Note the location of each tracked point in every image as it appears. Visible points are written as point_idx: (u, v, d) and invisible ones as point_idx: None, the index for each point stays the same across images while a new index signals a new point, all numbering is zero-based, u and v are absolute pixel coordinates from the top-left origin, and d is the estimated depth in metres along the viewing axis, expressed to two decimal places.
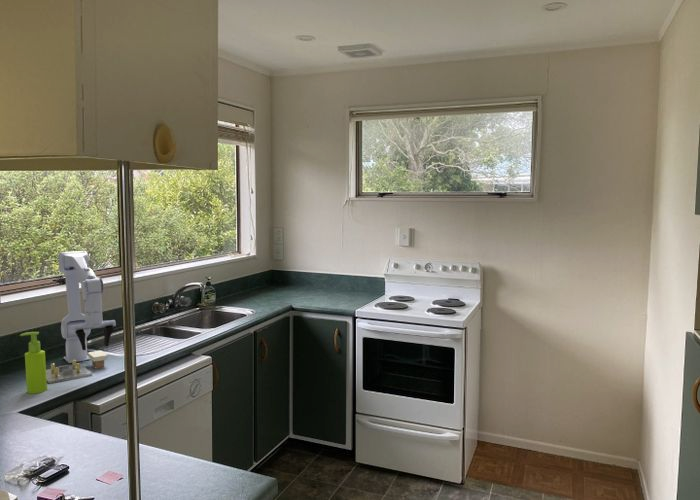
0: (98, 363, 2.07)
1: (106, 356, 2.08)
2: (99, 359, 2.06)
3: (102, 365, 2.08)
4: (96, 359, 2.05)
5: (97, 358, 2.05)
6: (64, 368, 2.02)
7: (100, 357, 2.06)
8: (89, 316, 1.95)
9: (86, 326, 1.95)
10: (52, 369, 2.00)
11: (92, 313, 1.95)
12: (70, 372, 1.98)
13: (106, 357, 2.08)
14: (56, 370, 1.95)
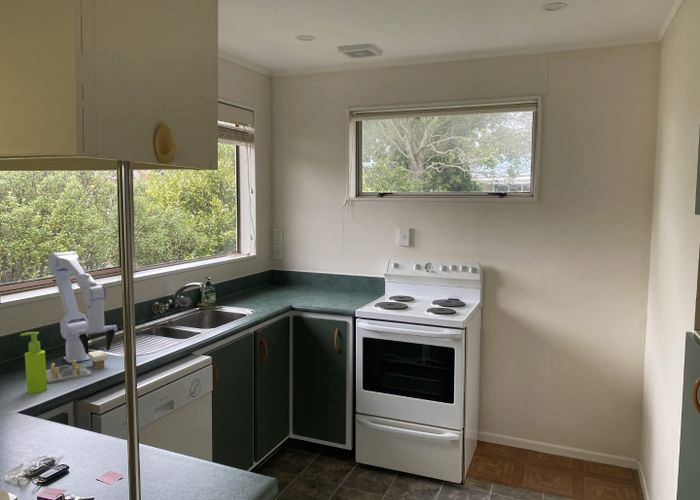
0: (98, 363, 2.07)
1: (106, 356, 2.08)
2: (99, 359, 2.06)
3: (102, 365, 2.08)
4: (96, 359, 2.05)
5: (97, 358, 2.05)
6: (64, 368, 2.02)
7: (100, 357, 2.06)
8: (92, 322, 2.06)
9: (89, 331, 2.05)
10: (52, 369, 2.00)
11: (94, 318, 2.06)
12: (70, 372, 1.98)
13: (106, 357, 2.08)
14: (56, 370, 1.95)
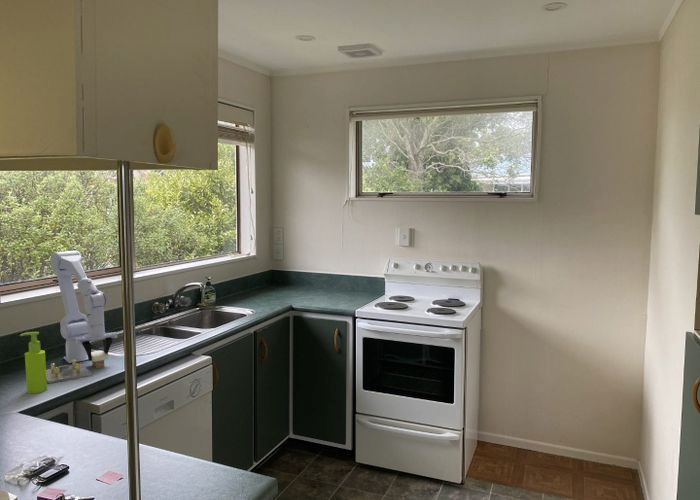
0: (98, 363, 2.07)
1: (106, 356, 2.08)
2: (99, 359, 2.06)
3: (102, 365, 2.08)
4: (96, 359, 2.05)
5: (97, 358, 2.05)
6: (64, 368, 2.02)
7: (100, 357, 2.06)
8: (92, 329, 2.06)
9: (89, 338, 2.06)
10: (52, 369, 2.00)
11: (95, 326, 2.06)
12: (70, 372, 1.98)
13: (106, 357, 2.08)
14: (56, 370, 1.95)
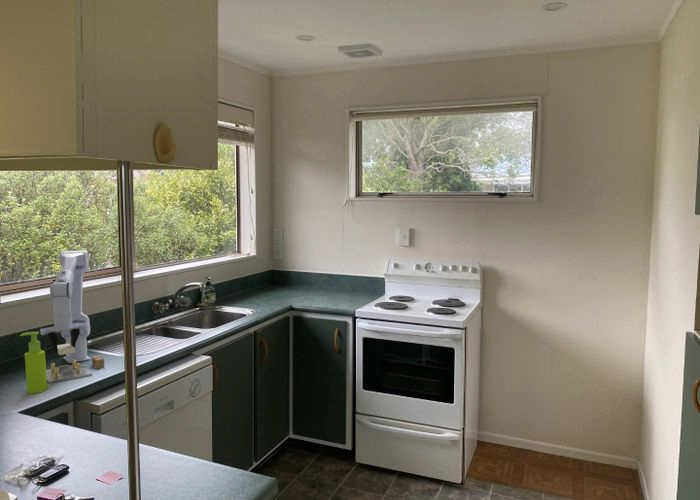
0: (98, 363, 2.07)
1: (73, 349, 1.97)
2: (65, 352, 1.95)
3: (102, 365, 2.08)
4: (62, 352, 1.95)
5: (63, 351, 1.95)
6: (64, 368, 2.02)
7: (66, 350, 1.96)
8: (58, 320, 1.96)
9: (55, 329, 1.95)
10: (52, 369, 2.00)
11: (61, 316, 1.96)
12: (70, 372, 1.98)
13: (73, 350, 1.97)
14: (56, 370, 1.95)
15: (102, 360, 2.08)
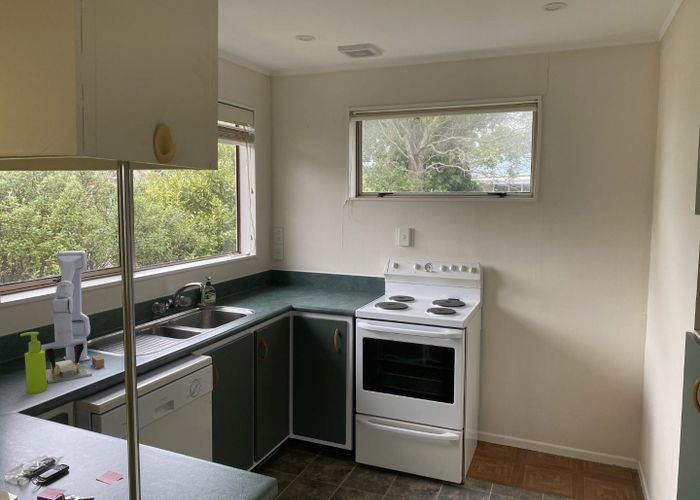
0: (98, 363, 2.07)
1: (74, 366, 1.97)
2: (66, 369, 1.96)
3: (102, 365, 2.08)
4: (63, 369, 1.95)
5: (64, 368, 1.95)
6: None
7: (67, 367, 1.96)
8: (59, 336, 1.96)
9: (56, 345, 1.96)
10: (52, 369, 2.00)
11: (62, 332, 1.96)
12: (70, 372, 1.98)
13: (74, 367, 1.98)
14: (56, 370, 1.95)
15: (102, 360, 2.08)
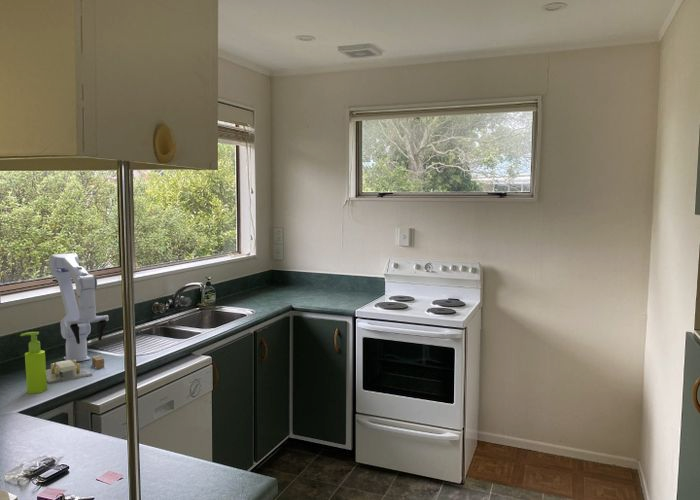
0: (98, 363, 2.07)
1: (74, 366, 1.97)
2: (66, 369, 1.96)
3: (102, 365, 2.08)
4: (63, 369, 1.95)
5: (64, 368, 1.95)
6: None
7: (67, 367, 1.96)
8: (83, 311, 2.04)
9: (80, 321, 2.04)
10: (52, 369, 2.00)
11: (86, 308, 2.04)
12: (70, 372, 1.98)
13: (74, 367, 1.98)
14: (56, 370, 1.95)
15: (102, 360, 2.08)
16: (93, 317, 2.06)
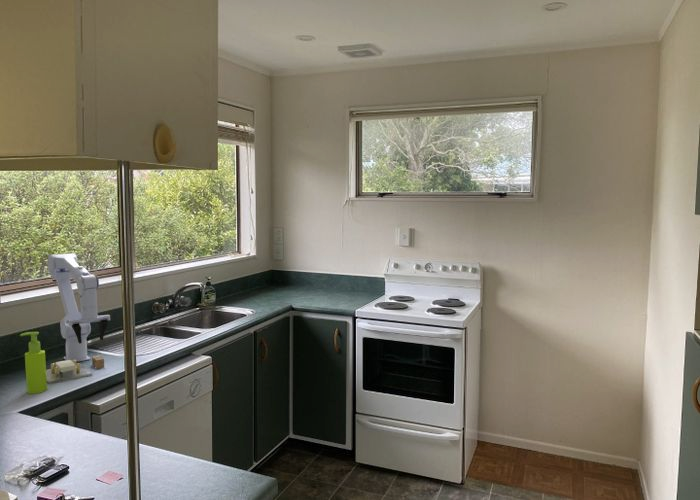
0: (98, 363, 2.07)
1: (74, 366, 1.97)
2: (66, 369, 1.96)
3: (102, 365, 2.08)
4: (63, 369, 1.95)
5: (64, 368, 1.95)
6: None
7: (67, 367, 1.96)
8: (85, 311, 2.05)
9: (82, 320, 2.04)
10: (52, 369, 2.00)
11: (87, 308, 2.05)
12: (70, 372, 1.98)
13: (74, 367, 1.98)
14: (56, 370, 1.95)
15: (102, 360, 2.08)
16: (95, 317, 2.07)
